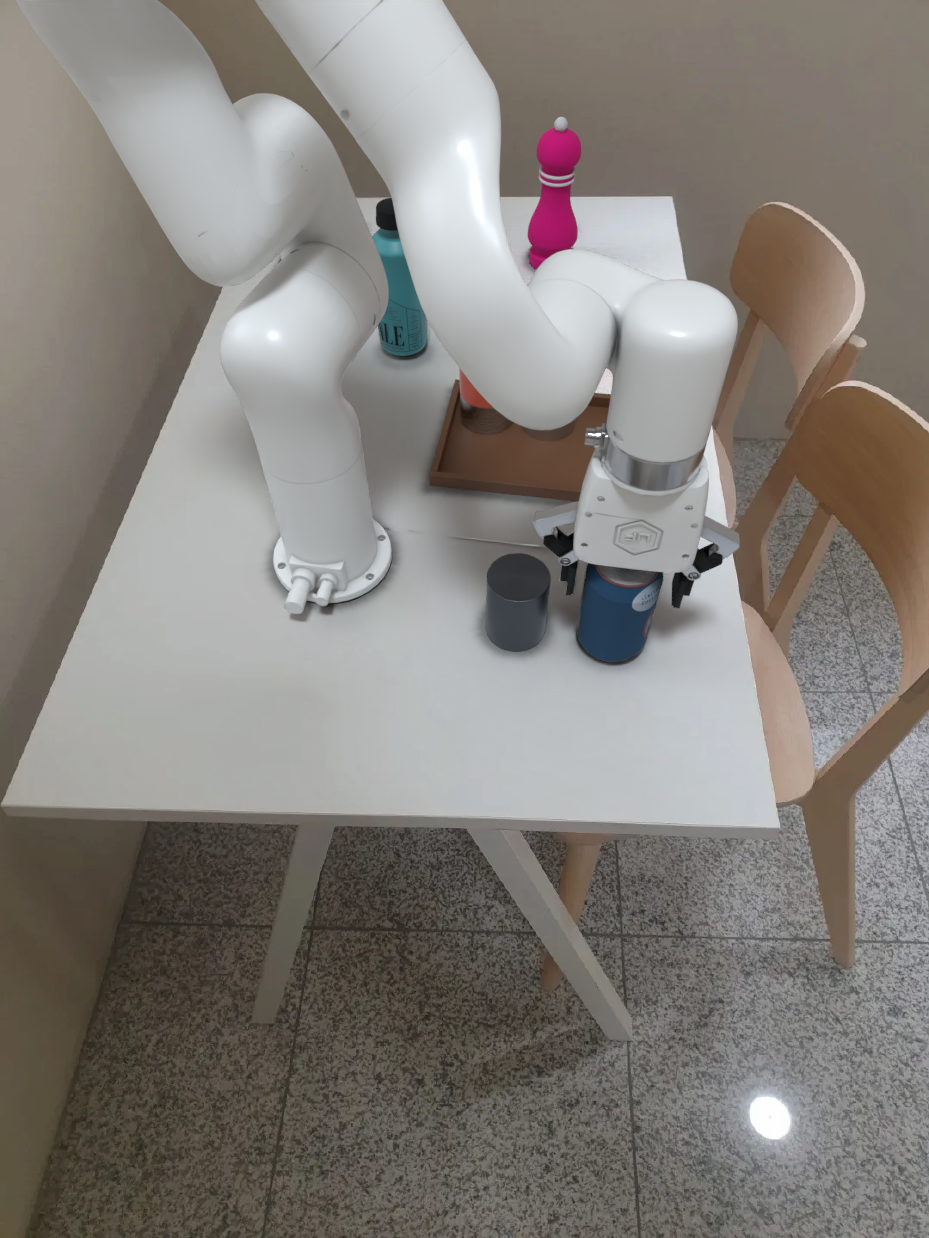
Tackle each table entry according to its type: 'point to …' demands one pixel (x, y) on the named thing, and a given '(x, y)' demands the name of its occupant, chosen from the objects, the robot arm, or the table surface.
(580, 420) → the tray
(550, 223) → the pepper mill
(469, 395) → the can
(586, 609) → the soda can
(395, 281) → the beverage bottle
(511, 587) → the grey tin
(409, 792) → the table surface
